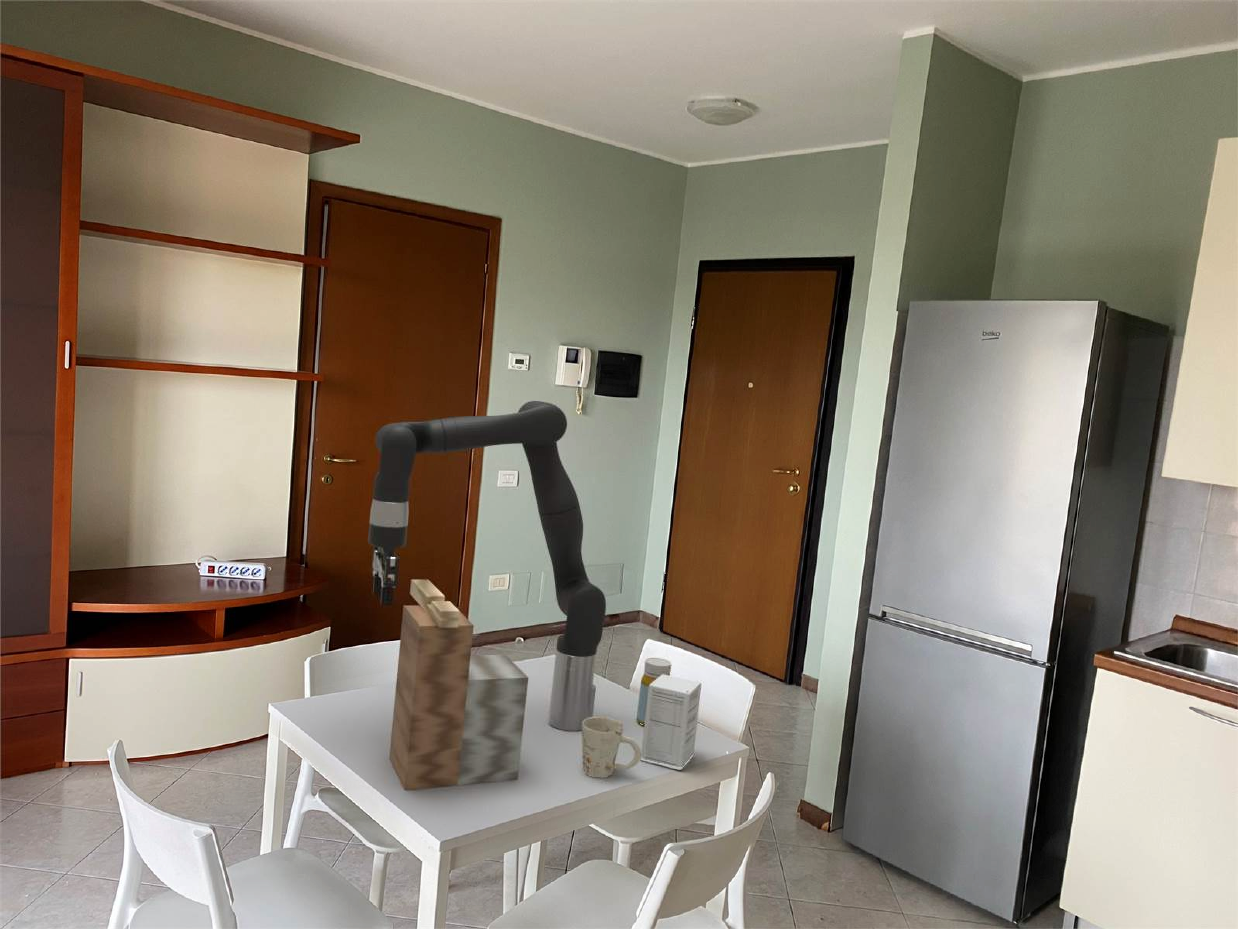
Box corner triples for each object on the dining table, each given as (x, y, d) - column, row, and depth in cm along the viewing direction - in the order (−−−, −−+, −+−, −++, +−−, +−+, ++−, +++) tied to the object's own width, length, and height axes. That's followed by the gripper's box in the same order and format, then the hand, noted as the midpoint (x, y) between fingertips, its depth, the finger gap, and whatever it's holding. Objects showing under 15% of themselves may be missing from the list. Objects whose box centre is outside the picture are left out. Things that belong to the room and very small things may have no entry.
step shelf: (495, 750, 189) (510, 605, 186) (517, 779, 176) (534, 624, 173) (389, 758, 179) (403, 605, 176) (404, 790, 167) (420, 626, 164)
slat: (426, 593, 187) (428, 579, 187) (458, 627, 166) (459, 611, 166) (410, 593, 186) (411, 579, 186) (439, 627, 164) (440, 611, 164)
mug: (581, 760, 189) (586, 714, 188) (640, 770, 187) (646, 723, 186) (573, 776, 180) (579, 728, 179) (635, 787, 179) (641, 738, 178)
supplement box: (694, 757, 197) (703, 682, 195) (681, 772, 188) (691, 694, 187) (653, 746, 200) (662, 672, 199) (638, 761, 192) (648, 684, 190)
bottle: (663, 731, 210) (670, 668, 208) (633, 725, 211) (641, 663, 210) (667, 721, 217) (675, 660, 215) (639, 715, 218) (646, 655, 217)
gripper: (415, 529, 179) (407, 609, 181) (400, 516, 192) (393, 591, 193) (376, 528, 176) (369, 609, 177) (363, 515, 189) (357, 591, 190)
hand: (382, 600), depth 185 cm, fingers open, 8 cm apart
